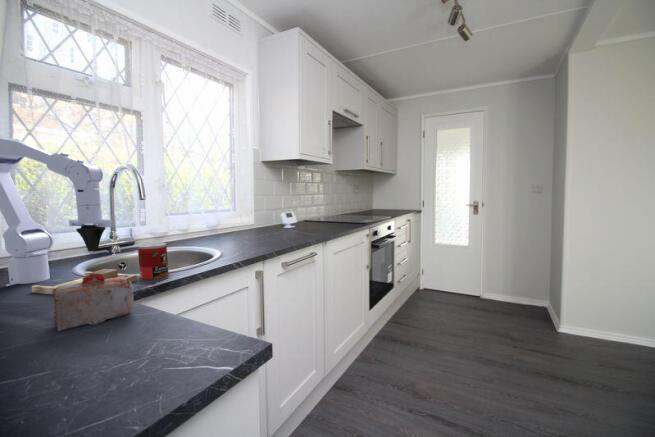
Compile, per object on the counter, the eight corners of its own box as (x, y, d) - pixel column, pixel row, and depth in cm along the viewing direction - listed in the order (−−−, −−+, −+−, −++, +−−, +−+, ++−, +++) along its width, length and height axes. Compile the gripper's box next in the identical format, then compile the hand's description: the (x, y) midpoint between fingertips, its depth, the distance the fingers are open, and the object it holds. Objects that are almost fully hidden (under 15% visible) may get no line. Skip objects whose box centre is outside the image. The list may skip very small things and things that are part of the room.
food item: (129, 306, 76) (125, 266, 76) (137, 315, 71) (133, 272, 70) (54, 323, 67) (49, 277, 66) (56, 335, 61) (51, 286, 60)
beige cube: (90, 289, 86) (88, 273, 85) (106, 284, 90) (104, 268, 90) (103, 290, 85) (101, 274, 84) (118, 285, 89) (117, 269, 89)
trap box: (32, 296, 85) (31, 286, 84) (88, 280, 99) (87, 271, 99) (86, 302, 79) (85, 291, 79) (137, 284, 94) (136, 275, 94)
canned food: (157, 283, 94) (154, 247, 93) (134, 282, 96) (131, 246, 95) (174, 276, 102) (172, 242, 101) (152, 275, 103) (150, 242, 102)
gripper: (56, 206, 92) (60, 252, 93) (94, 206, 88) (98, 254, 89) (80, 204, 99) (84, 247, 100) (117, 204, 95) (121, 249, 96)
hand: (93, 250), depth 95 cm, fingers closed
